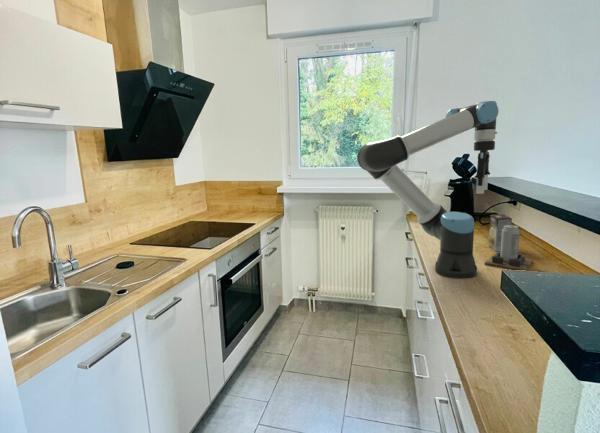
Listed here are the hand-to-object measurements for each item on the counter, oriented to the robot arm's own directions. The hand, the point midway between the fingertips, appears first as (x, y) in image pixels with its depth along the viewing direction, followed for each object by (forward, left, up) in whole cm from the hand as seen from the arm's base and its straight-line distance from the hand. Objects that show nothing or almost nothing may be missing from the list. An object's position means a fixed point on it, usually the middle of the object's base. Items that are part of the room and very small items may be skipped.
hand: (481, 191), depth 134 cm
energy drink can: (+4, -11, -29) cm, 31 cm away
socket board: (+4, -11, -30) cm, 32 cm away
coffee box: (+18, +5, -30) cm, 35 cm away
